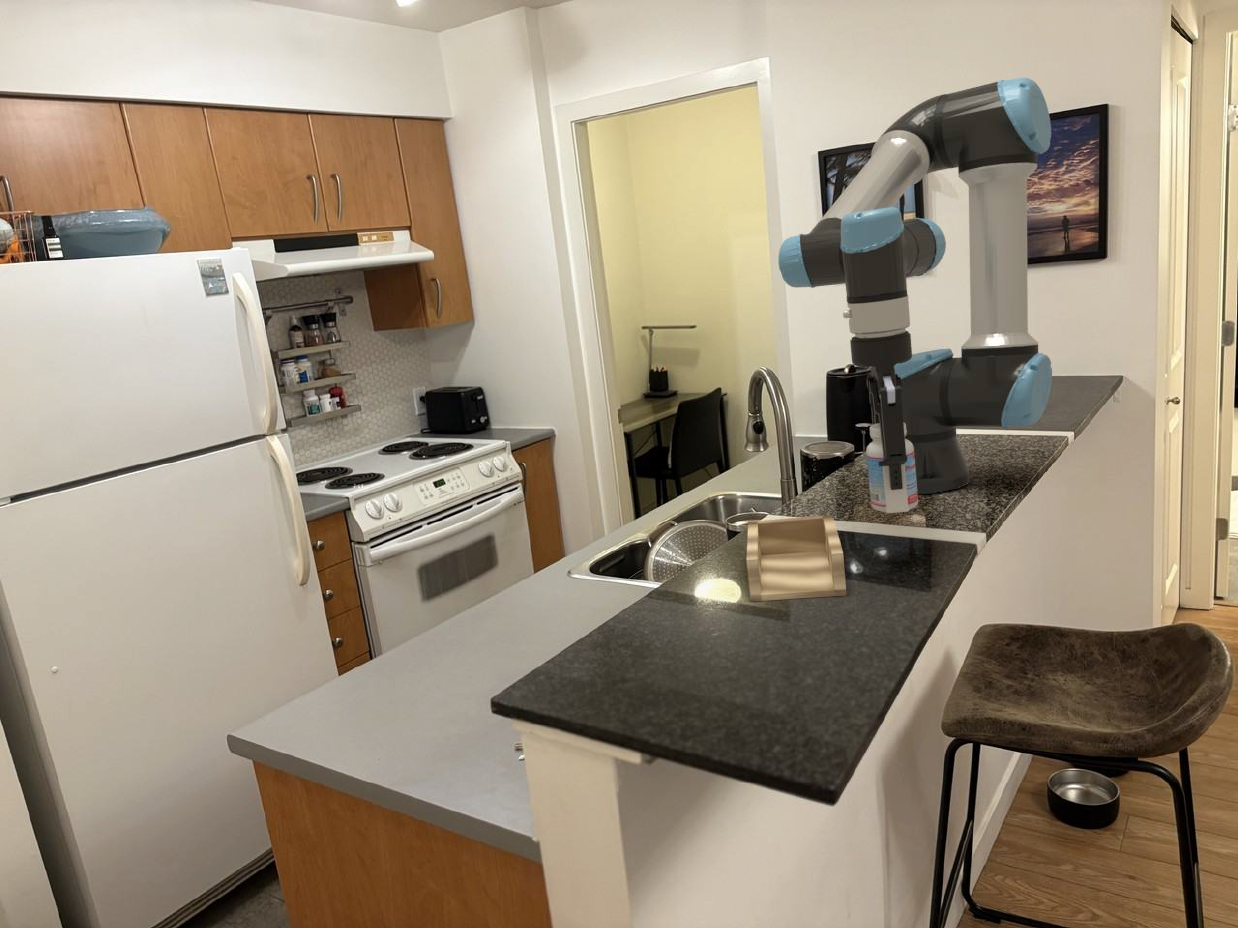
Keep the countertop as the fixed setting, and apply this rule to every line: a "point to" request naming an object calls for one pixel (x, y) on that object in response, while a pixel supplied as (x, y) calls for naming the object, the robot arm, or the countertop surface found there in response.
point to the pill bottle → (876, 472)
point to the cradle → (795, 559)
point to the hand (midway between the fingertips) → (893, 503)
